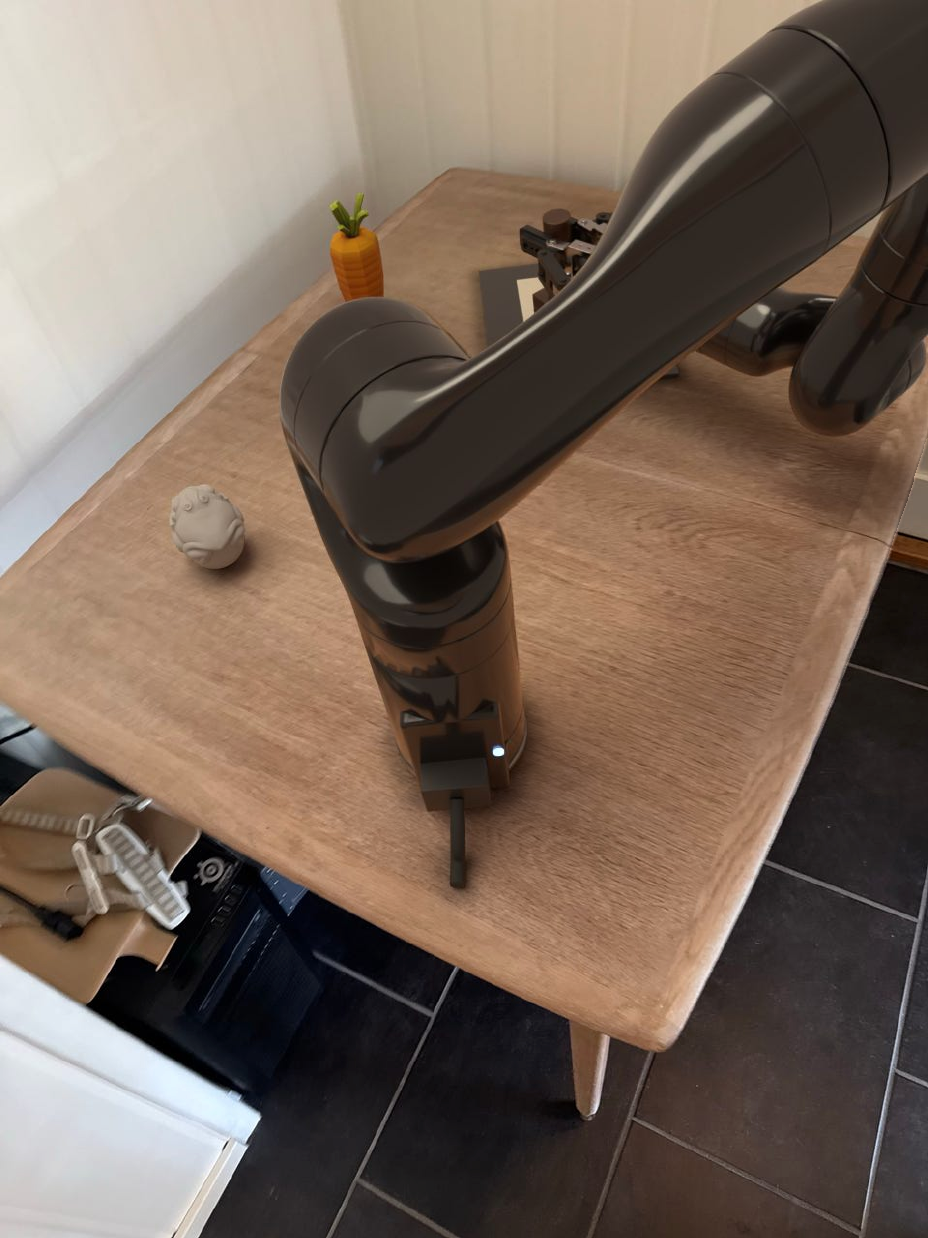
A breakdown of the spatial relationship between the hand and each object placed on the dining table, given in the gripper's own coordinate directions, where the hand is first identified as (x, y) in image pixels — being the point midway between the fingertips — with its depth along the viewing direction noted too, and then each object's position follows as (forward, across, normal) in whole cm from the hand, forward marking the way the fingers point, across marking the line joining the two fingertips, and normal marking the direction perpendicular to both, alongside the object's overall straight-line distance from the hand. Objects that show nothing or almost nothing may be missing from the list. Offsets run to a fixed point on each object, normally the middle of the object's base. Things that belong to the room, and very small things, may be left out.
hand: (535, 228), depth 83 cm
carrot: (+13, +12, +11) cm, 21 cm away
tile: (-2, -3, +11) cm, 12 cm away
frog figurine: (-1, +41, +11) cm, 42 cm away
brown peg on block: (-3, 0, +10) cm, 10 cm away
